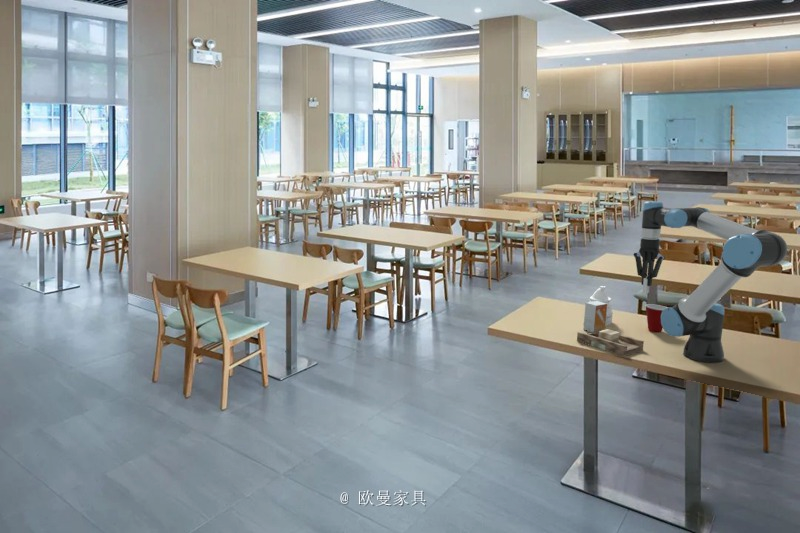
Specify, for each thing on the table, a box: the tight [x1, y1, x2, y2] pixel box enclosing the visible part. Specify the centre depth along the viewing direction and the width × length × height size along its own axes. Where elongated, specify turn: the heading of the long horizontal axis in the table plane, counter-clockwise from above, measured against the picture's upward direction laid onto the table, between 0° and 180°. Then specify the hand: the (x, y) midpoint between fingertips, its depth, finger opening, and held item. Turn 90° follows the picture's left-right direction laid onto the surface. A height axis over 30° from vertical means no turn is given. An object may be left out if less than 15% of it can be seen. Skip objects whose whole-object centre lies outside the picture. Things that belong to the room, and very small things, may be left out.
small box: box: [583, 301, 607, 333], centre depth 296 cm, size 8×6×13 cm
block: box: [599, 328, 620, 342], centre depth 275 cm, size 6×6×4 cm
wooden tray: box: [576, 328, 645, 357], centre depth 275 cm, size 24×13×4 cm, turn 37°
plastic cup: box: [644, 303, 669, 334], centre depth 297 cm, size 11×11×12 cm
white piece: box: [588, 285, 614, 326], centre depth 310 cm, size 13×13×18 cm
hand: (645, 292), depth 273 cm, fingers closed
